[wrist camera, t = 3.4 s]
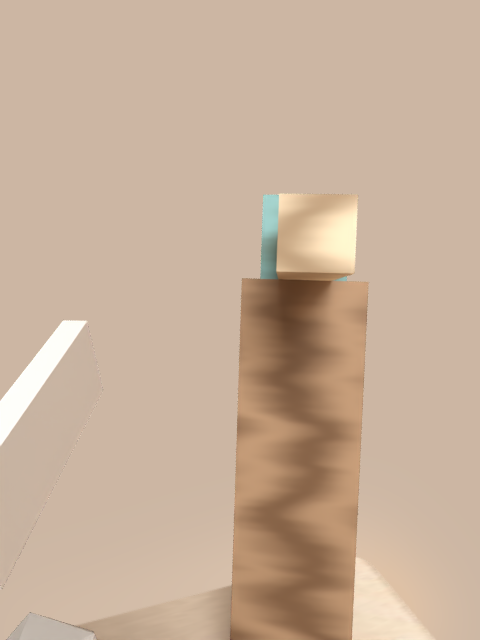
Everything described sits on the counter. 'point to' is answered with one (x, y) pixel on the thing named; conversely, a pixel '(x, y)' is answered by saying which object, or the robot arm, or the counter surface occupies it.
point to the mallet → (309, 236)
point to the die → (48, 630)
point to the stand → (298, 458)
